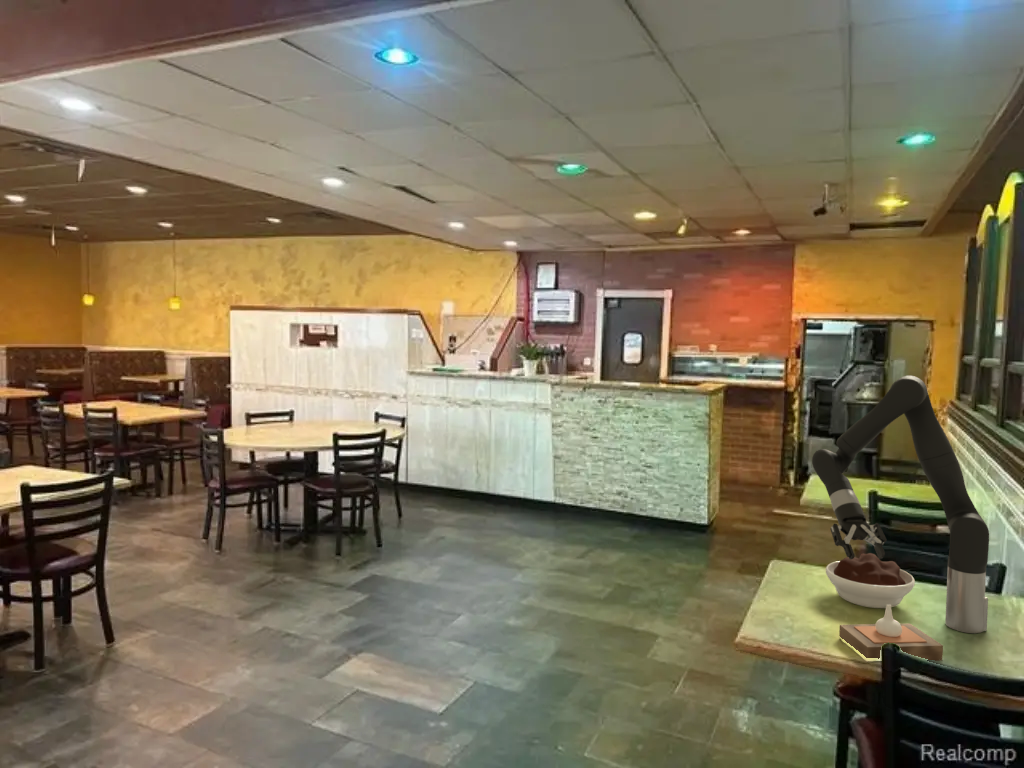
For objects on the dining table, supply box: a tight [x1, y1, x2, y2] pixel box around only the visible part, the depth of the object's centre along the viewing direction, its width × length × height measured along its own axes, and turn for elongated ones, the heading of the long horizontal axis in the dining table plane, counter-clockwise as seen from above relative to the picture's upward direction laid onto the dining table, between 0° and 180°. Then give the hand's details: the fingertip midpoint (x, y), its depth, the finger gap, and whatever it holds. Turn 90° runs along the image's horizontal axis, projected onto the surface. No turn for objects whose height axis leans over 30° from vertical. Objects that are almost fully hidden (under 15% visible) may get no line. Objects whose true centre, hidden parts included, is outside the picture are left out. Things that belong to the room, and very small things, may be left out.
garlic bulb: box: [875, 604, 902, 637], centre depth 187 cm, size 6×6×8 cm
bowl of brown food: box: [825, 552, 916, 609], centre depth 220 cm, size 25×25×15 cm
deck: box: [838, 623, 944, 662], centre depth 186 cm, size 20×14×4 cm
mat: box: [854, 626, 927, 643], centre depth 186 cm, size 14×10×1 cm
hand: (867, 557), depth 197 cm, fingers open, 8 cm apart
